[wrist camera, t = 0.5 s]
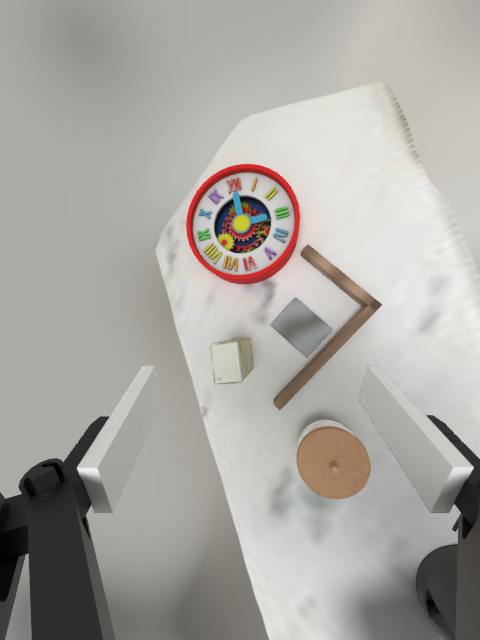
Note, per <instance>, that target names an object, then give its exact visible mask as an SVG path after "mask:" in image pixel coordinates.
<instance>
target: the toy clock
mask: <svg viewBox="0 0 480 640" xmlns="http://www.w3.org/2000/svg"><path fill="white" fill-rule="evenodd" d="M299 221H300V213H299V205H298V202H297V199H296V196H295V194H294V192H293V190H292V188H291V186H290V185H289V184H288V183H287V182H286V180H285V179H284V178H283V177H281V176H280V175H279V174H278V173H276V172H274V171H273V170H271V169H269V168H266V167H263V166H260V165H253V164H240V165H235V166H231V167H228V168H225V169H223V170H221V171H219V172H217V173H216V174H214V175H213V176H211V177H210V178H209V179H208V180H207V181H206V182H204V184H203V185H202V186H201V187H200V188H199V190H198V191H197V193H196V194H195V196H194V198H193V200H192V202H191V205H190V207H189V211H188V215H187V225H186V228H187V237H188V240H189V244H190V247H191V249H192V251H193V253H194V255H195V256H196V257H197V259H198V260H199V262H200V263H202V264H203V265H204V266H205V267H206V268H207V269H208V270H210V271H211V272H213V273H214V274H216V275H217V276H219V277H220V278H222V279H224V280H226V281H229V282H232V283H237V284H251V283H257V282H260V281H263V280H266V279H267V278H269V277H271V276H273V275H274V274H276V273H277V272H278V271H279V270H281V269H282V267H283V266H284V265H285V264H286V263H287V262H288V260H289V259H290V257H291V256H292V253H293V251H294V249H295V246H296V242H297V238H298V231H299Z"/></svg>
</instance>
